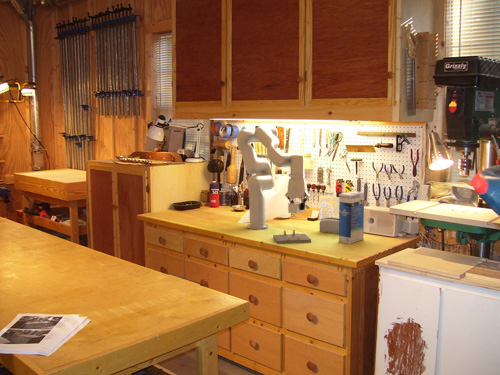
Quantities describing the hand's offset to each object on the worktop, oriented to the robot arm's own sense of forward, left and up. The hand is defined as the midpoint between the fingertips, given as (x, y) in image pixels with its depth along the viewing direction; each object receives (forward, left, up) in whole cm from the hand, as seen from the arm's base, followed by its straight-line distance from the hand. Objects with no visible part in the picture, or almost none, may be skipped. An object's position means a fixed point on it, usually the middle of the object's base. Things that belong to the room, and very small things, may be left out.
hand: (297, 209), depth 281 cm
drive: (0, 0, -2) cm, 2 cm away
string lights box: (+14, +26, -16) cm, 34 cm away
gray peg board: (+7, -5, -16) cm, 18 cm away
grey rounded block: (-8, +23, -16) cm, 29 cm away
